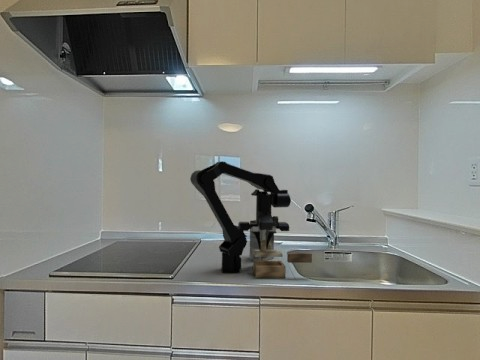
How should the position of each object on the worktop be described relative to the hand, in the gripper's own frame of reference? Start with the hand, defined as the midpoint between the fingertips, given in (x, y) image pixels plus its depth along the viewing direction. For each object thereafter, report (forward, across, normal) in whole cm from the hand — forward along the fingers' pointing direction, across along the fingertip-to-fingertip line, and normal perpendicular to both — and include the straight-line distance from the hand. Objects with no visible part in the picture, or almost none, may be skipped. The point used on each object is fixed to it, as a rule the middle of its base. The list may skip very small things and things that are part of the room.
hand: (262, 249), depth 139 cm
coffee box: (+7, +2, +14) cm, 16 cm away
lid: (+2, +2, -1) cm, 3 cm away
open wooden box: (+7, +1, -11) cm, 13 cm away
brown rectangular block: (+2, +10, -14) cm, 18 cm away
